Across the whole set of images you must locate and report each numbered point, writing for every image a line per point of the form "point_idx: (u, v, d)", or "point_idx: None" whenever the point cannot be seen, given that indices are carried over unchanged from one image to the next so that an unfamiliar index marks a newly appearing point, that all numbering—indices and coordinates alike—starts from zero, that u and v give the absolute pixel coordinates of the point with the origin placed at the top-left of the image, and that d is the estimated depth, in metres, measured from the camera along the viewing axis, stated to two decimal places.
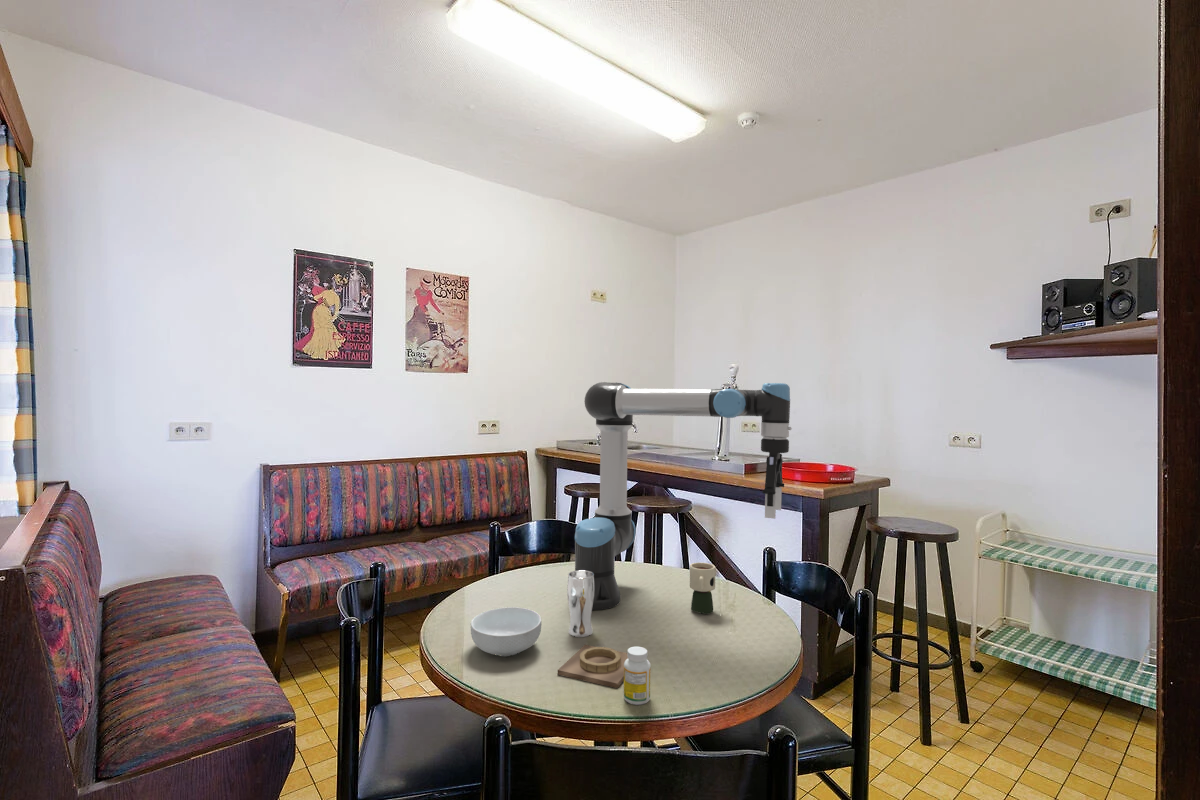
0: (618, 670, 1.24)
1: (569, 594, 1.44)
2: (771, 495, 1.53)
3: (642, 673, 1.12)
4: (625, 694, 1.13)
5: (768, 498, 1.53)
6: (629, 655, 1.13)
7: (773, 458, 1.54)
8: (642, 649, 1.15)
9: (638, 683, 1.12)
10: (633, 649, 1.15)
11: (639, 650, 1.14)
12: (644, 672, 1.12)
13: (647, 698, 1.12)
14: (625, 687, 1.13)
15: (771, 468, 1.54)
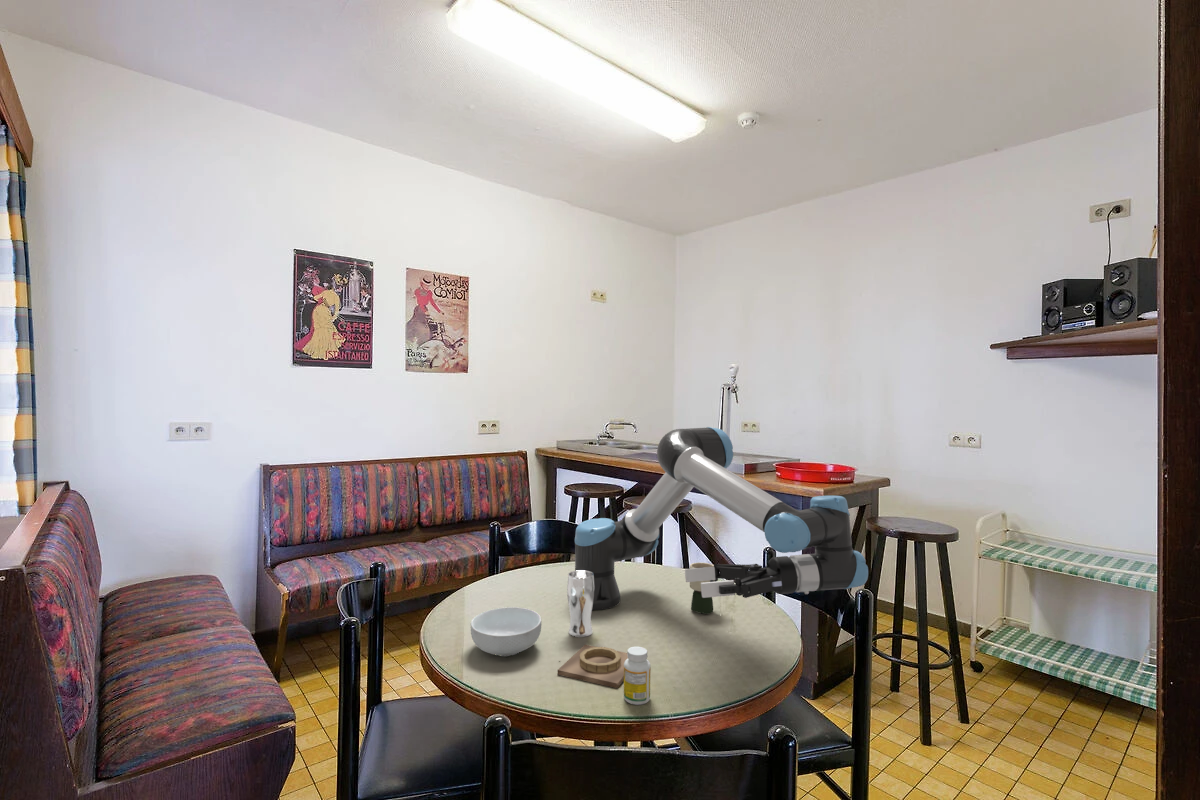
0: (618, 670, 1.24)
1: (569, 594, 1.44)
2: (735, 591, 1.11)
3: (642, 673, 1.12)
4: (625, 694, 1.13)
5: (731, 587, 1.11)
6: (629, 655, 1.13)
7: (781, 585, 1.13)
8: (642, 649, 1.15)
9: (638, 683, 1.12)
10: (633, 649, 1.15)
11: (639, 650, 1.14)
12: (644, 672, 1.12)
13: (647, 698, 1.12)
14: (625, 687, 1.13)
15: (769, 585, 1.13)
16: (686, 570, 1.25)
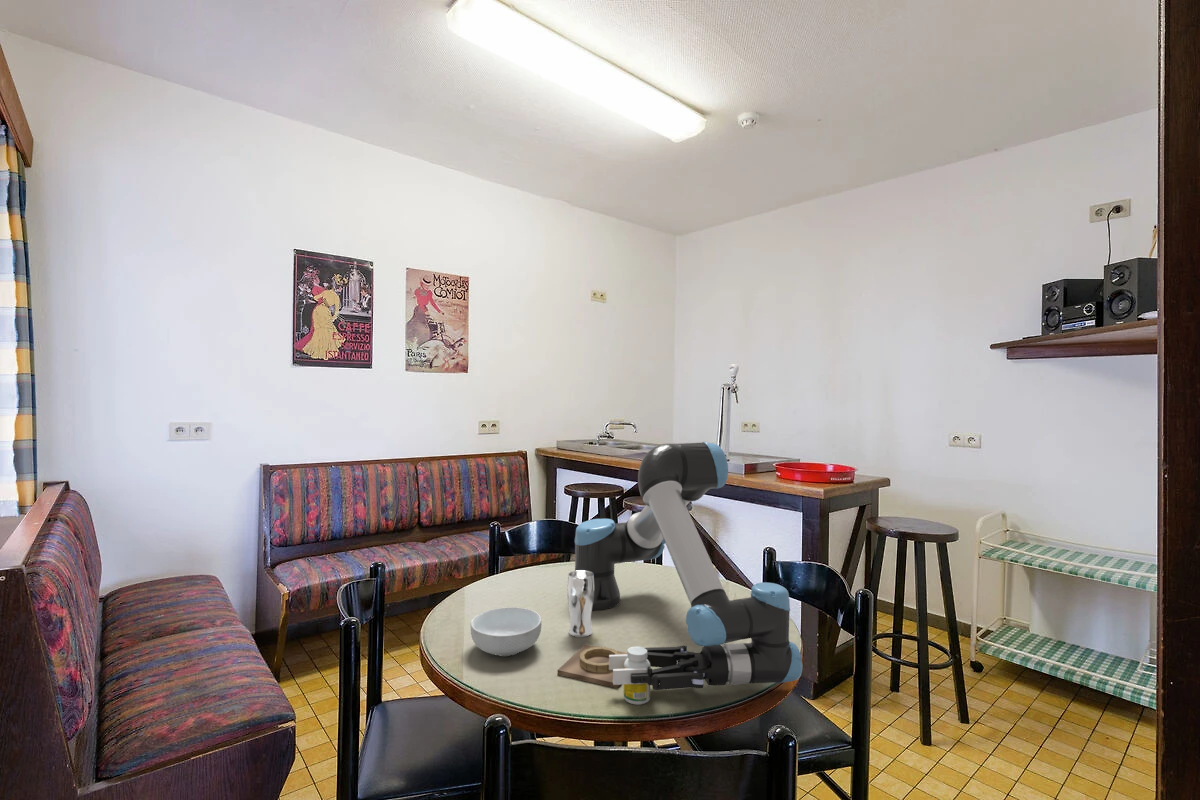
0: None
1: (569, 594, 1.44)
2: (646, 681, 1.10)
3: None
4: (625, 694, 1.13)
5: (642, 677, 1.10)
6: (629, 655, 1.13)
7: (701, 684, 1.09)
8: (642, 649, 1.15)
9: None
10: (633, 649, 1.15)
11: (639, 650, 1.14)
12: None
13: (647, 698, 1.12)
14: (625, 687, 1.13)
15: (687, 682, 1.09)
16: (610, 657, 1.16)
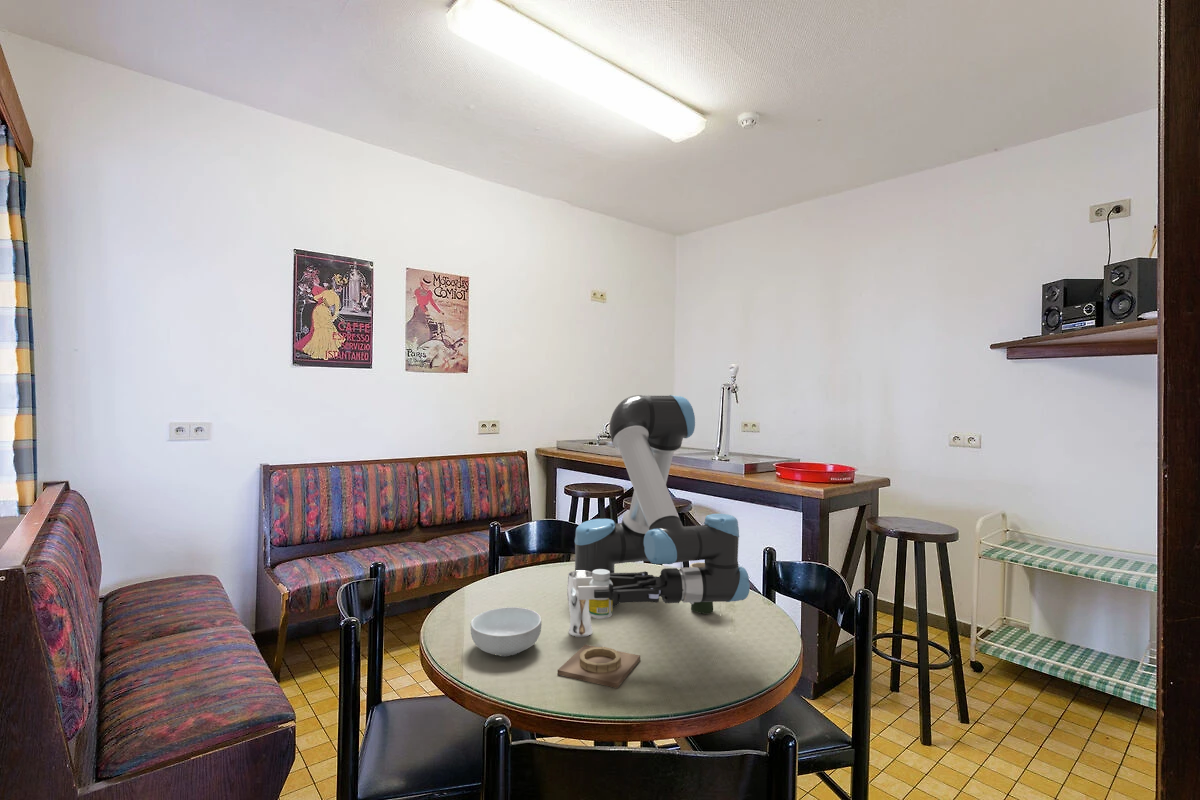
0: (618, 670, 1.24)
1: (569, 594, 1.44)
2: (608, 596, 1.23)
3: None
4: (590, 610, 1.26)
5: (604, 593, 1.23)
6: (593, 575, 1.26)
7: (656, 598, 1.22)
8: (605, 570, 1.28)
9: None
10: (597, 570, 1.28)
11: (603, 571, 1.27)
12: None
13: (609, 613, 1.25)
14: (590, 603, 1.26)
15: (643, 596, 1.22)
16: (577, 579, 1.29)
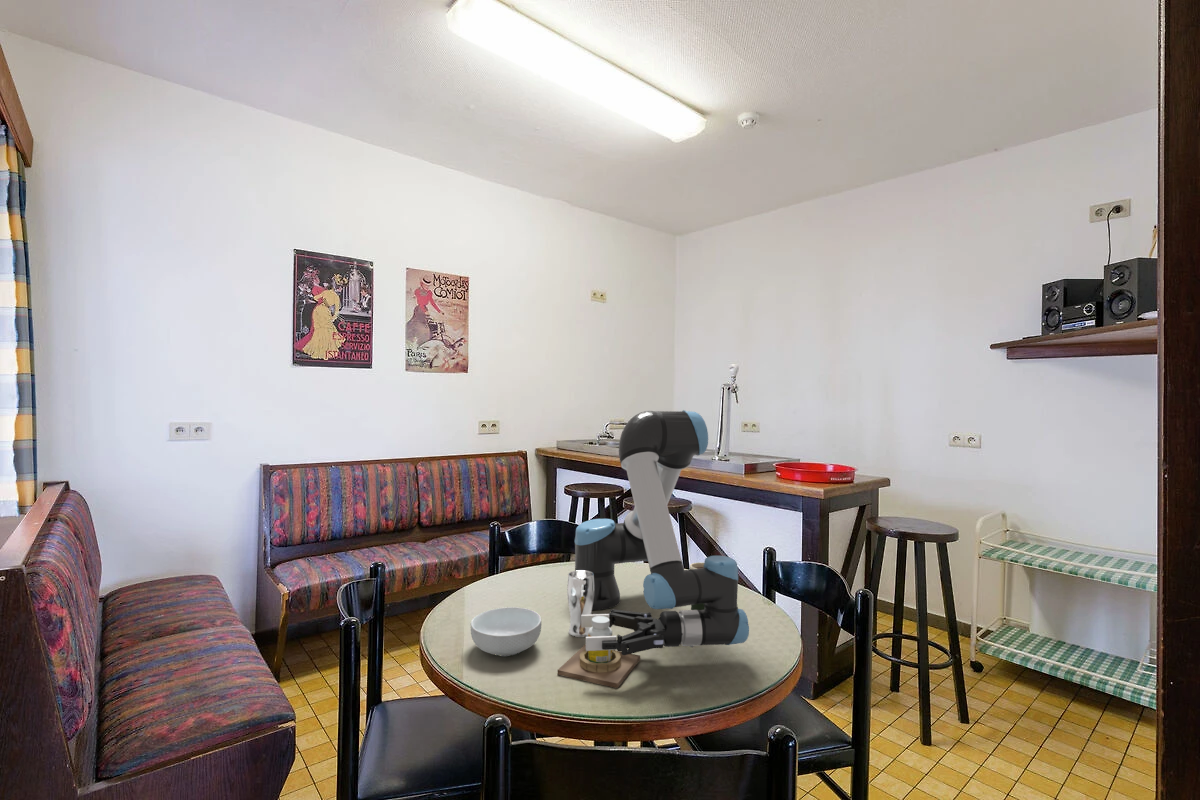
0: (618, 670, 1.24)
1: (569, 594, 1.44)
2: (616, 647, 1.20)
3: None
4: (589, 658, 1.26)
5: (612, 644, 1.20)
6: (593, 623, 1.26)
7: (662, 644, 1.22)
8: (605, 618, 1.28)
9: None
10: (597, 618, 1.28)
11: (602, 619, 1.28)
12: None
13: (609, 661, 1.26)
14: (589, 652, 1.26)
15: (650, 644, 1.21)
16: (582, 616, 1.33)
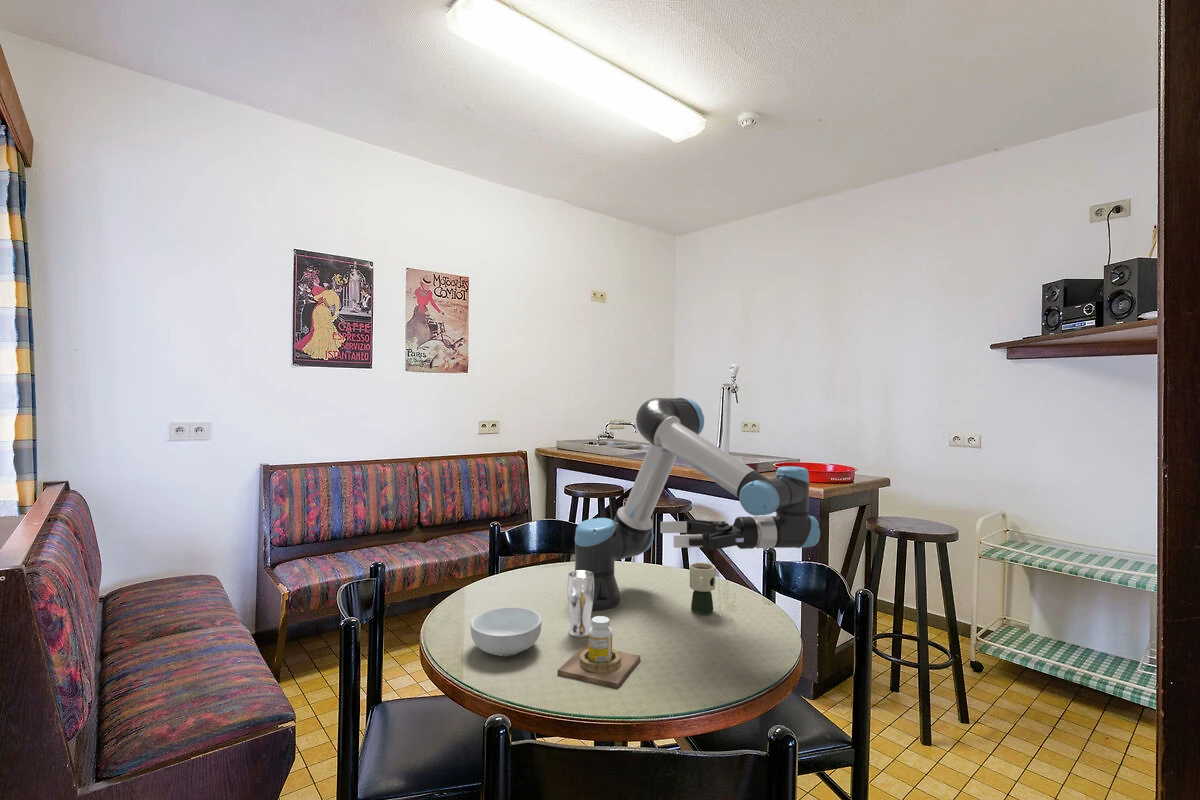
0: (618, 670, 1.24)
1: (569, 594, 1.44)
2: (703, 544, 1.27)
3: (604, 638, 1.25)
4: (589, 658, 1.26)
5: (699, 541, 1.27)
6: (593, 623, 1.26)
7: (742, 542, 1.30)
8: (605, 618, 1.28)
9: (600, 647, 1.25)
10: (597, 618, 1.28)
11: (602, 619, 1.28)
12: (605, 638, 1.25)
13: (609, 661, 1.26)
14: (589, 652, 1.26)
15: (732, 541, 1.29)
16: (661, 523, 1.41)
